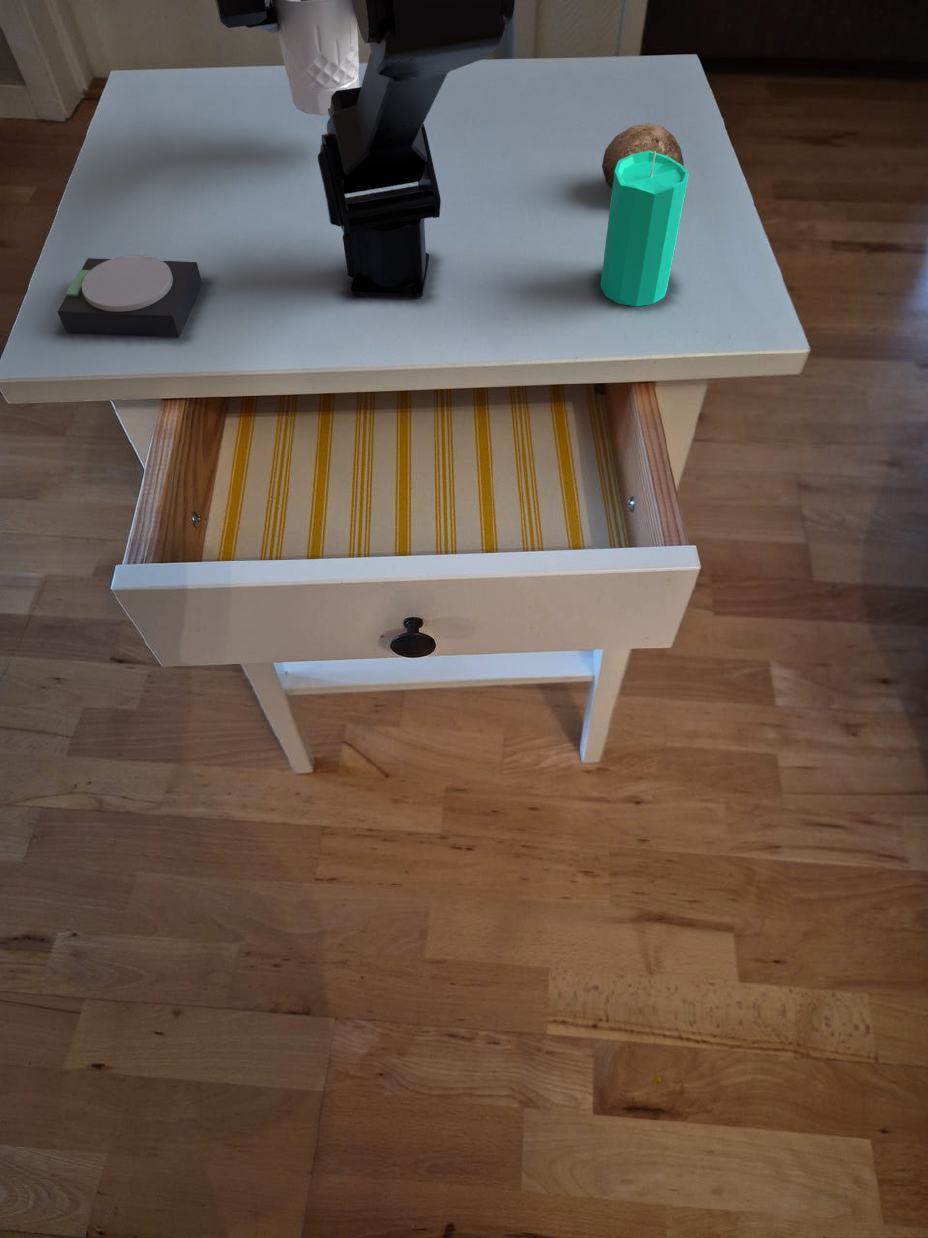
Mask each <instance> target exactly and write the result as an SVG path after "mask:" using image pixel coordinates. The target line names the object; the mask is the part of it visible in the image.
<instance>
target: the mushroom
mask: <svg viewBox="0 0 928 1238" xmlns="http://www.w3.org/2000/svg"><path fill="white" fill-rule="evenodd" d="M645 151H652V152H654V151H656V153H659V154H662V155H665V156H668V157H669V158H671V159H673V160H674V161H676V162H678V163H679V164H681V165H682V166H683V167H685V162H684V157H683V153H682V148H681V147H680V145H679V143H678V141H677V140H676V137H675V136H674V134H673V133H671V132H670V131H669V130H668V129H667V128H665V126H661V125H658V124H657V125H656V124H654V123H649V122H648V123H642V124H637V125H632V126H630V127H628V128H627V129H625V130H623V131H622V132H620V133H618V134H617V135H616V136H615V137H614V138H613V139H612V140H611V142H610V143H609V144H608V146H607V147H606V148H605V150H604V154H603V158H602V163H601V169H602V172H603V177H604V180H605V183H606V184H607V186H608V187H609V189H610V190H611V191H612V188H613V180H614V172H615V169H616V166H617V163H618V161H619V160H621V159H623V158H625V157H627V156H629V155H632V154H636V153H641V152H645Z"/></svg>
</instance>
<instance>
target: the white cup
mask: <svg viewBox="0 0 928 1238" xmlns="http://www.w3.org/2000/svg"><path fill="white" fill-rule="evenodd" d="M271 2H272V6H273V10H274V14H275V19H276V23H277V27H278V32H277V36H278V41H279V46H280V51H281V56H282V58H283V63H284V69H285V74H286V77H287V78H288V84H289V90H290V94H291V100H292V103H293V104H294V106H295V108H296V110H298V111H301V112H303V113H305V114H309V115H315V116H329V113H328V108H330V106H331V96H332V95H333V94H334V93H335V92H336V91H338V90H345V89H351V88H358V87H360V75H359V73H360V57H359V32H358V31H359V29H358V23H357V19H356V15H355V11H354V7H353V3H352V0H309V1H302V2H301V1H300V0H271Z"/></svg>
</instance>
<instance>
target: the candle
mask: <svg viewBox="0 0 928 1238" xmlns="http://www.w3.org/2000/svg"><path fill="white" fill-rule="evenodd" d="M689 175H690V172H689V171H688V170H687V169H686V168H685V166H682V165H681V164H679V163H678V162H676V161H674V160H673V159H671V158H669V157H668V156H665V155H662V154H659V153H656V151H654V152H652V151H645V152H641V153H636V154H632V155H629V156H627V157H625V158H623V159H621V160H619V161H618V163H617V166H616V169H615V172H614V180H613V188H612V190H611V195H610V206H609V212H608V213H609V214H608V220H607V221H608V223H607V230H606V238H605V247H604V254H603V262H602V270H601V276H600V277H601V279H600V286H599V287H600V288H601V290H602V292H603V294H604V296H605V297H607V298H608V299H609V300H611V301H614V302H615V303H618V304H619V305H625V306H629V307H630V306H632V307H636V308H637V307H642V306H648V305H654V304H656V303H658V302H659V301H660V300H662V299H663V298H665V296H666V293H667V290H668V285H669V281H670V275H671V270H672V265H673V260H674V254H675V249H676V245H677V239H678V233H679V228H680V223H681V218H682V212H683V207H684V201H685V196H686V191H687V187H688V182H689Z"/></svg>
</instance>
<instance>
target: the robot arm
mask: <svg viewBox="0 0 928 1238" xmlns="http://www.w3.org/2000/svg"><path fill="white" fill-rule="evenodd" d="M300 1H301V2H302V1H309V0H300ZM515 1H516V0H352V3H353V7H354V11H355V15H356V19H357V27H358V31H359V33H360V36H361V39H362V41H363V43H364V44H368V45H369V49H370V53H369V57H368V60H367V65H366V67H365V72H364V75H363V79H362V83H361V86H359V87H358V88H351V89H345V90H338V91H336V92H335V93H334V94H333V95H332V96H331V106H330V108H328V113H329V115H328V116H329V119H328V120H327V122H326V133H323V134H321V139H320V140H321V144H320V149H319V150H320V151H319V153H318V154H317V163H318V167H319V171H320V177H321V181H322V185H323V189H324V190H323V191H324V194H325V195H324V196H325V199H326V205H327V212H328V219H329V223H330V224H331V225H332V226H335V227H338V228H341V230H342V232H343V233H342V243H343V250H344V258H345V265H346V272H347V273H346V274H347V277H348V278H349V279H352V280H351V284H350V294H351V295H352V296H355V297H376V298H377V297H379V298H380V297H381V298H405V299H420V298H422V297H423V296H424V292H425V287H426V281H427V275H428V271H429V266H430V265H429V264H430V254H429V253H427V250H426V249H427V248H426V230H425V229H426V228H425V227H426V226H425V219H430V218H433V219H435V218H436V219H437V218H440V213H441V204H442V200H441V194H440V189H439V184H438V182H437V181H438V180H437V176H436V171H435V166H434V162H433V158H432V152H431V148H430V143H429V138H428V134H427V129H426V127H425V124H424V123H425V121H426V119H427V117H428V114H429V113H430V111H431V109H432V107H433V105H434V102H435V101H436V98H437V97H438V94H439V92H440V90H441V88H442V86H443V84H444V82H445V79H446V78H447V76H448V74H449V73H450V72H452V71H454V70H457V69H461V68H463V67H465V66H468V65H471V64H473V63H476V62H479V61H482V60H484V59H485V58H486V57H488V56H489V55H490V54H491V53H492V52H494V51H495V50H496V49H497V48H498V47H499V46H500V45H501V43H502V41H503V39H504V37H505V33H506V30H507V25H508V24H510V22H511V21H512V19H513V15H514V11H515V3H516V2H515ZM214 2H215V6H216V9H217V14H218V18H219V20H220V21H219V22H220V23H221V24H222V25H224V26H225V27H227V28H228V29H233V28H240V27H245V28H248V29H252V28H256V29H260V30H264V31H267V32H269V33H271V34H273V35H275V34H278V27H277V23H276V19H275V14H274V10H273V6H272V1H271V0H214ZM415 183H417V185H412V186H406V187H400V188H394V189H389V190H383V191H376V192H371V193H365V194H359V195H354V196H353V195H352V196H348V197H346V195H349V194H355V193H361V192H366V191H372V190H378V189H384V188H390V187H396V186H401V185H408V184H415Z"/></svg>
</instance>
